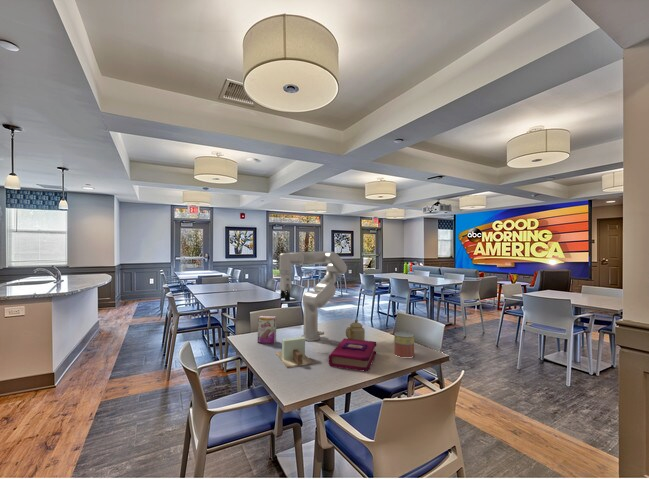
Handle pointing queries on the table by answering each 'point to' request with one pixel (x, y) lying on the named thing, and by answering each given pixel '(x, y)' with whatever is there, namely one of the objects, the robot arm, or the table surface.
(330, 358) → the book
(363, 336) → the sugar bowl
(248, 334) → the table surface
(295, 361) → the slot board
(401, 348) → the canned food
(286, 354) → the sage plate
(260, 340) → the candy bar box
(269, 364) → the table surface
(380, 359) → the table surface
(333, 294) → the robot arm
